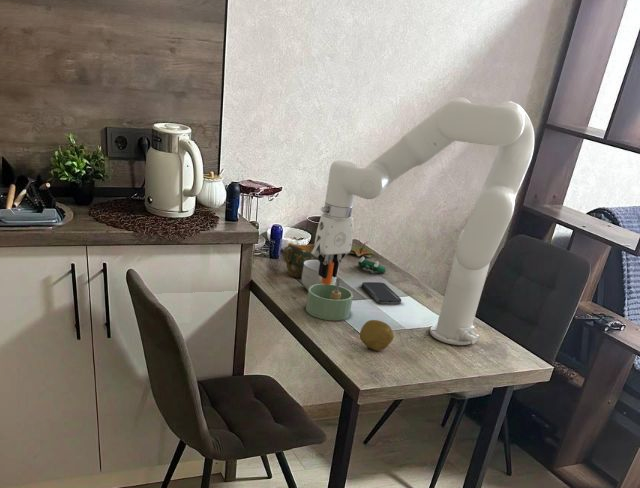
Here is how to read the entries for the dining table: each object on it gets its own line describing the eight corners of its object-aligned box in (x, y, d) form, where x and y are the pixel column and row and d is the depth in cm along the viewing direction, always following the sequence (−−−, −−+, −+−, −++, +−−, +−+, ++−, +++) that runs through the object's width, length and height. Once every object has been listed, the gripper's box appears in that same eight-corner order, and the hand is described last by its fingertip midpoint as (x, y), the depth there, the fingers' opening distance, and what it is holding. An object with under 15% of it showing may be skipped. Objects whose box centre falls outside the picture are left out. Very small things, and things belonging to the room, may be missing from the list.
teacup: (303, 281, 228) (307, 256, 224) (337, 287, 227) (341, 262, 222) (295, 296, 216) (298, 270, 212) (330, 303, 215) (334, 277, 211)
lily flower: (340, 255, 255) (342, 242, 252) (347, 246, 264) (349, 233, 262) (374, 261, 253) (376, 248, 250) (379, 252, 263) (381, 239, 260)
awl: (339, 313, 207) (345, 279, 201) (332, 314, 206) (337, 280, 200) (334, 310, 209) (339, 276, 203) (326, 311, 207) (332, 277, 202)
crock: (358, 317, 208) (361, 297, 205) (322, 323, 202) (325, 302, 199) (332, 301, 217) (335, 281, 213) (297, 305, 210) (299, 286, 207)
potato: (355, 343, 193) (361, 315, 189) (382, 343, 195) (388, 315, 191) (363, 354, 188) (369, 326, 183) (391, 354, 189) (397, 326, 185)
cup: (270, 265, 237) (274, 234, 231) (328, 267, 242) (333, 236, 237) (280, 279, 227) (284, 248, 221) (340, 281, 232) (345, 249, 227)
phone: (383, 282, 232) (402, 300, 220) (382, 285, 233) (401, 303, 221) (360, 282, 230) (379, 300, 218) (360, 285, 230) (378, 303, 219)
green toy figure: (358, 271, 247) (354, 262, 242) (363, 262, 248) (359, 252, 242) (381, 279, 244) (378, 270, 238) (387, 270, 244) (383, 260, 238)
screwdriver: (332, 284, 207) (338, 249, 201) (325, 285, 205) (330, 250, 200) (327, 280, 208) (332, 246, 203) (319, 281, 207) (324, 247, 201)
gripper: (321, 216, 189) (311, 283, 199) (369, 213, 197) (357, 278, 207) (305, 207, 194) (296, 274, 204) (353, 205, 202) (342, 269, 212)
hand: (327, 275), depth 206 cm, fingers closed on screwdriver, 2 cm apart
